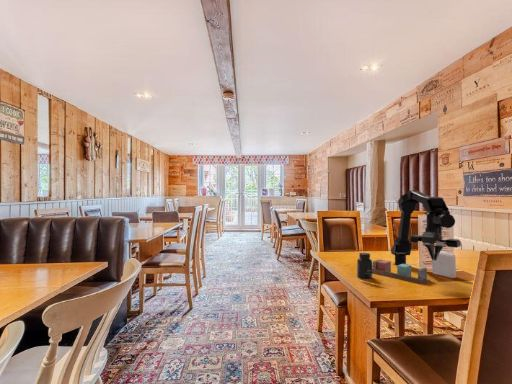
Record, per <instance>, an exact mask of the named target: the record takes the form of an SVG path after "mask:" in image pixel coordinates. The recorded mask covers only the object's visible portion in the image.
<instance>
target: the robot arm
mask: <svg viewBox="0 0 512 384" xmlns="http://www.w3.org/2000/svg"><path fill="white" fill-rule="evenodd" d="M419 203H420V204H421V205H422V207H423V208H424V209H425V210H426V211H425V212H424V215H426V227H425V231H424V232H423V233H422V234H421V235H419V234H415V235H414V234H413V235H411V236H409V234H410V227H411V217H412V215H413V214H412V213H414V211H415V210H416V207H417V205H418V204H419ZM397 204H398V209H399V211H400V219H399V229H398V230H399V231H398V236H397V238H395V239H394V243H393V245H392V247H391V249H390V254H391V255H393V256H394V263H392V265H394V266H398V265H400V264H407V265H409V264H408V263H407V256H410V255H411V251H412V243H416V244H417V243H418V242H422V243H423V244H422V245H423V246H425V248H426V249H427V251H428V253H429V255H430V258H431V261H432V260H435V261H436V260H437V258H438V255H439V253H440V251H443V248H445V247H449V248H454V249H455V248H459V247H461V246H462V242H461V240H460V239H458V238H457V239H455V238H448V239H443V236H442V234H443V233H442V231H443V228H446V229H450V228H453V227H454V225H455V223H456V220H455V219H456V218H455V217H454V216H453V215H452V214H451V212H450V210H449V207H448V206H447V204H446V202H445V200H444V198H443V197H440V196H431V195H428V194H426V193H425V192H422V191H420V190H418V189H416V190H414V189H412V190H410V189H409V190H408V191H407V192H406V193H405V194H402V195H401V196H400V197H399V199H398V200H397ZM435 244H436V245H435ZM434 251H435V254H434Z"/></svg>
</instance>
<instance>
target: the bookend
mask: <svg viewBox="0 0 512 384" xmlns="http://www.w3.org/2000/svg"><path fill="white" fill-rule="evenodd" d="M417 278H419V279H423V284H425V283H427V282H429V281H430V279H429V278H428V268H427V267H421V268H419V269H417Z"/></svg>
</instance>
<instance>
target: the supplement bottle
mask: <svg viewBox="0 0 512 384" xmlns="http://www.w3.org/2000/svg"><path fill="white" fill-rule="evenodd" d="M356 263H357V264H356V276H357V278H358V279H363V280H369V279H371V280H372V279H373V273H372V268H373V267H372V263H373V260H372V259H371V253H369V252H360V253H359V258H358V259H357V260H356Z"/></svg>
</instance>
